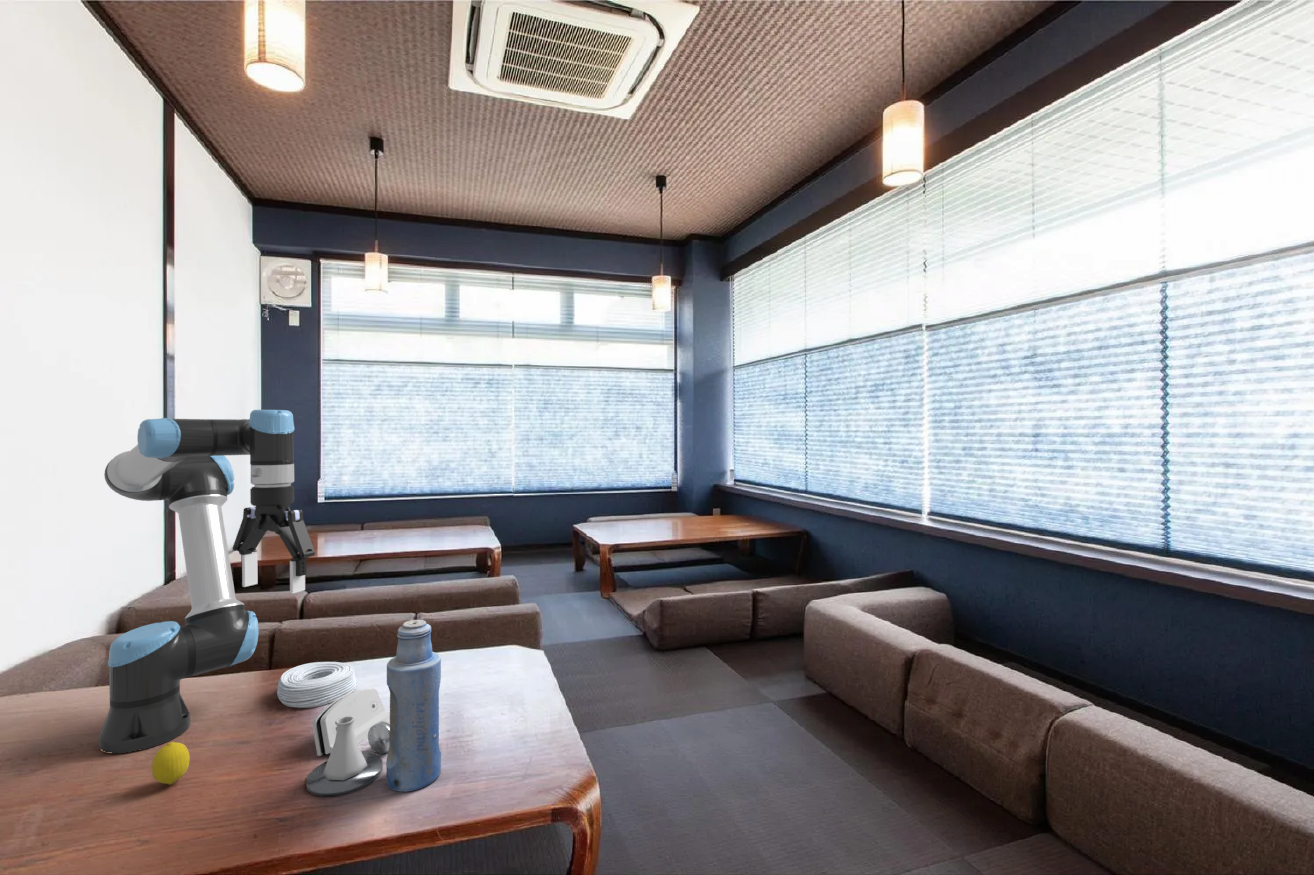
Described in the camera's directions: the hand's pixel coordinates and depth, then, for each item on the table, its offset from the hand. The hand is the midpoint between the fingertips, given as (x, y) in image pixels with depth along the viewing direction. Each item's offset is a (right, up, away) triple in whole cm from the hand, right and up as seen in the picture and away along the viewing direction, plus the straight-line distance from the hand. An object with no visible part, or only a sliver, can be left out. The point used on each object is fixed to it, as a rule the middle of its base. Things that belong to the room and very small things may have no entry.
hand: (273, 588), depth 121 cm
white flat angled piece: (+12, -35, +8) cm, 38 cm away
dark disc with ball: (+21, -34, -1) cm, 40 cm away
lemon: (-13, -35, -9) cm, 38 cm away
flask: (+18, -34, -7) cm, 39 cm away
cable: (-7, -35, +29) cm, 46 cm away
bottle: (+32, -35, -7) cm, 48 cm away
